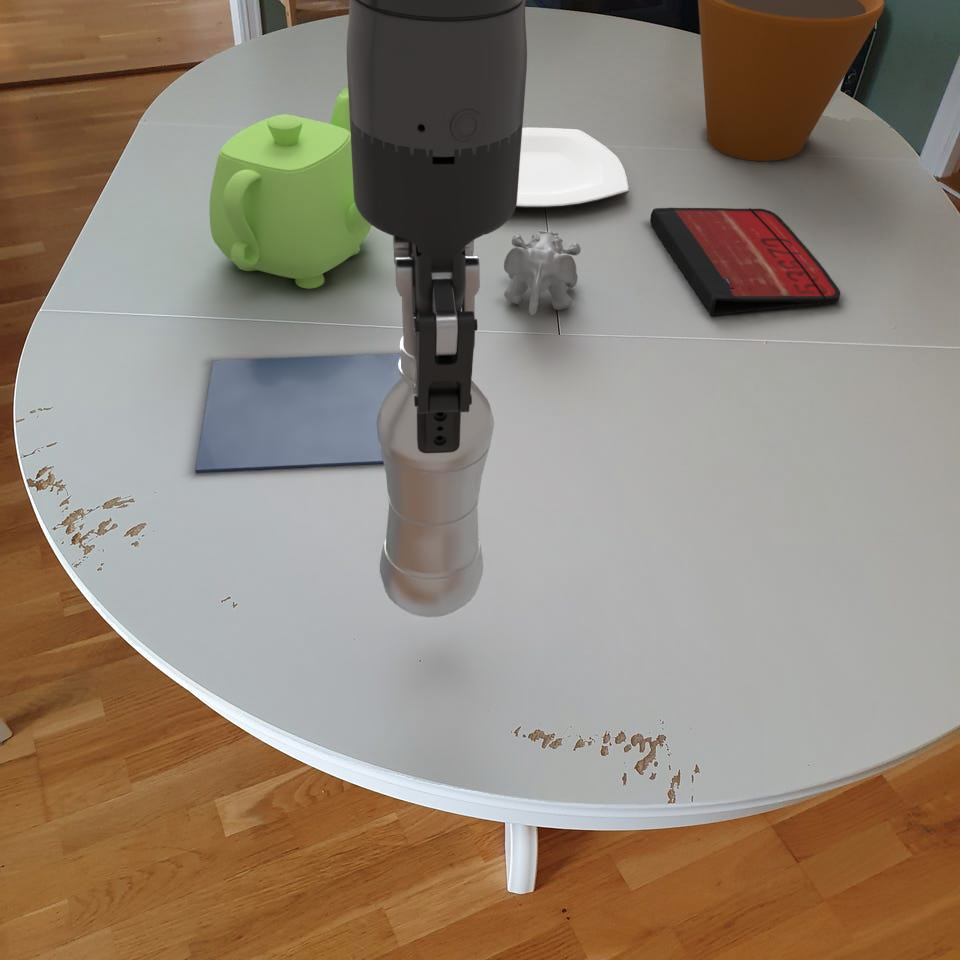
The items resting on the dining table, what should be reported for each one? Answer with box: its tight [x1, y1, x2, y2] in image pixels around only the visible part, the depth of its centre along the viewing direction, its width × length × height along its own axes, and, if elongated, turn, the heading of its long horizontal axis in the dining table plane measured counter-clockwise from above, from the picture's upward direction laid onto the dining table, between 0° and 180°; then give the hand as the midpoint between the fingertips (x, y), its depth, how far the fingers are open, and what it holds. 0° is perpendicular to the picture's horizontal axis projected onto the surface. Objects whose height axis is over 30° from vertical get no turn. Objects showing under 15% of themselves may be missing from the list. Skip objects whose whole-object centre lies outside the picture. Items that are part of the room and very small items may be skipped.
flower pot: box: [697, 0, 885, 162], centre depth 129 cm, size 24×24×20 cm
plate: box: [516, 126, 630, 209], centre depth 124 cm, size 23×23×2 cm
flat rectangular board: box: [194, 352, 401, 473], centre depth 87 cm, size 20×16×1 cm
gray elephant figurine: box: [503, 229, 582, 315], centre depth 99 cm, size 9×12×8 cm
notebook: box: [649, 207, 841, 317], centre depth 109 cm, size 16×2×21 cm
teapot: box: [209, 85, 373, 289], centre depth 102 cm, size 25×22×16 cm
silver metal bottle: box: [377, 328, 495, 618], centre depth 56 cm, size 6×7×20 cm
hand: (433, 409), depth 52 cm, fingers closed on silver metal bottle, 6 cm apart
